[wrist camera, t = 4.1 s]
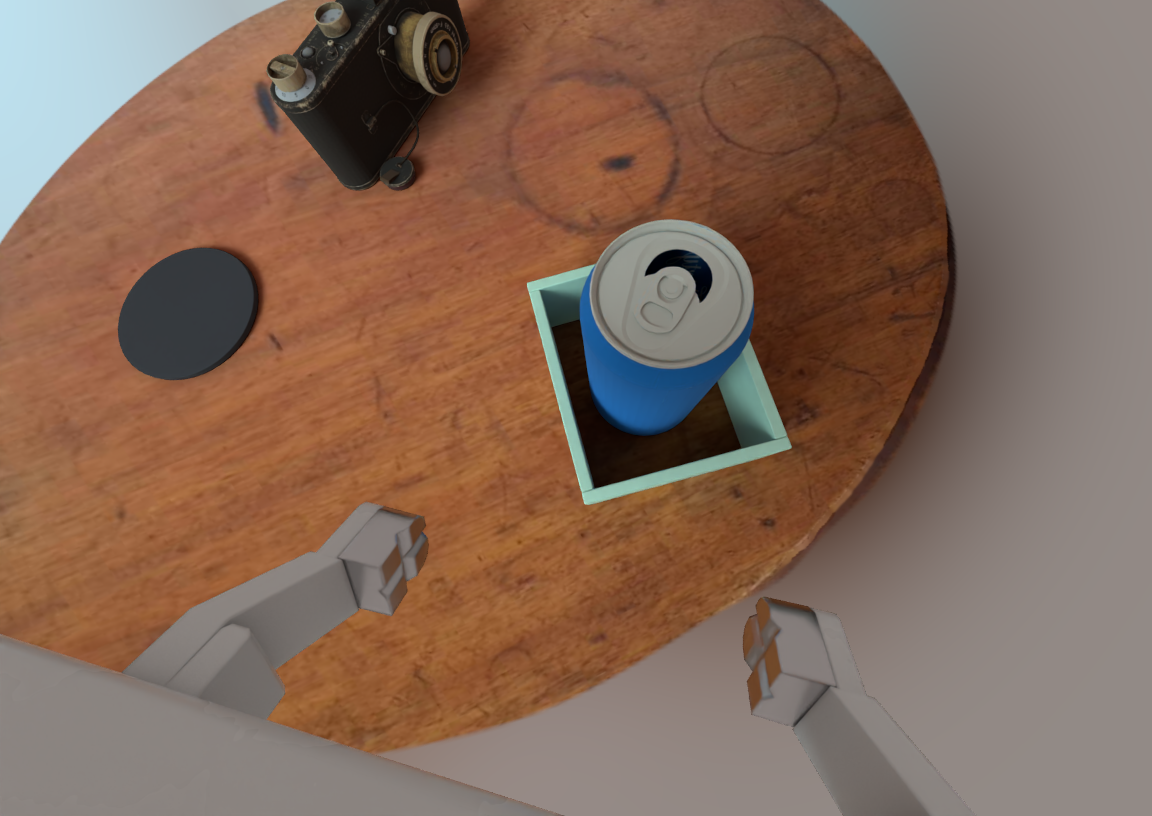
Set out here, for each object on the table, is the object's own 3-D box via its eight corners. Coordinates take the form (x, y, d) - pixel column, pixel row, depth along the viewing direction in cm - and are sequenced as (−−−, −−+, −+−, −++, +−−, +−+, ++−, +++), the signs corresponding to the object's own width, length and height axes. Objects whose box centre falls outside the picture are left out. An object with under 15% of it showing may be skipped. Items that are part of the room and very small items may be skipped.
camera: (399, 210, 30) (327, 109, 23) (326, 179, 31) (235, 73, 24) (507, 46, 33) (477, -93, 25) (438, 24, 34) (389, -117, 27)
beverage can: (713, 367, 26) (799, 255, 14) (663, 457, 25) (713, 414, 13) (622, 321, 27) (633, 182, 15) (571, 405, 26) (542, 323, 14)
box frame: (756, 459, 25) (792, 448, 20) (589, 505, 25) (584, 504, 20) (689, 280, 27) (707, 232, 23) (540, 322, 28) (526, 282, 23)
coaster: (263, 358, 28) (258, 355, 28) (123, 397, 28) (116, 395, 28) (253, 235, 31) (248, 231, 30) (124, 271, 31) (118, 268, 31)
